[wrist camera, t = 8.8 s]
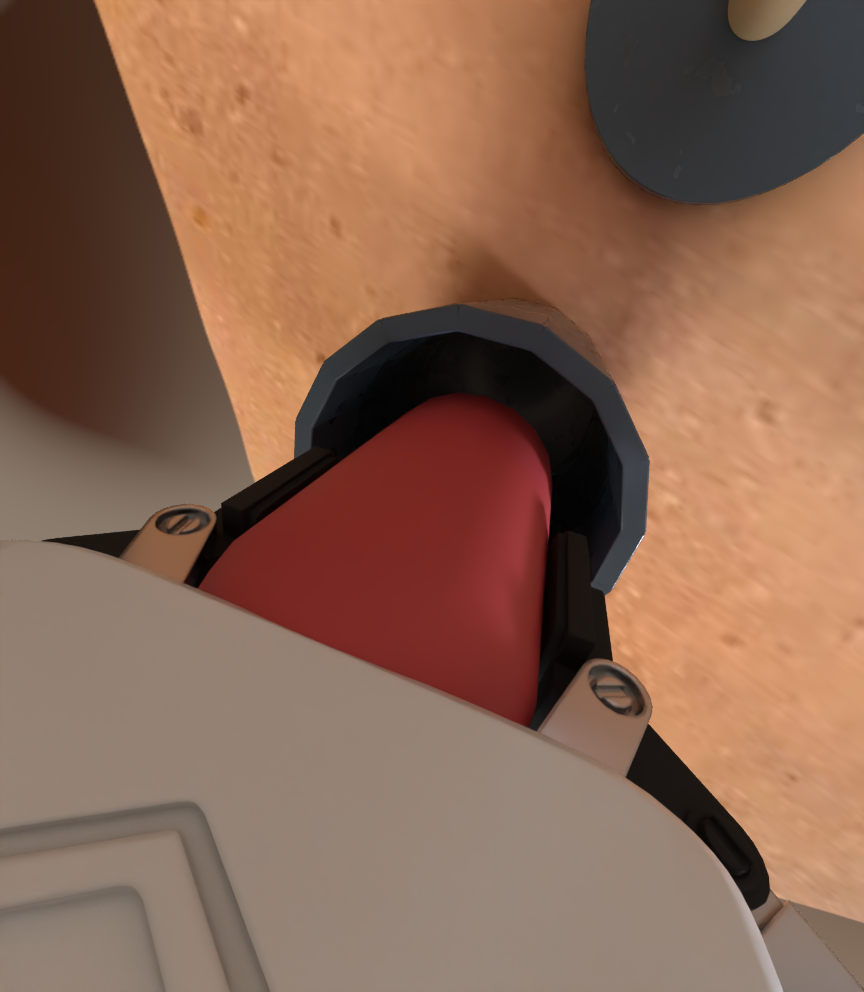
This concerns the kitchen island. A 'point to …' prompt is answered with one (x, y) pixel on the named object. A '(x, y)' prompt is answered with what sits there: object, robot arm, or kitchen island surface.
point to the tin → (513, 382)
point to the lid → (724, 91)
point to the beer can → (416, 554)
